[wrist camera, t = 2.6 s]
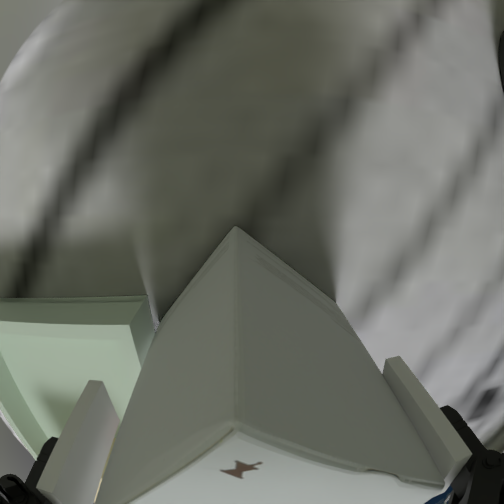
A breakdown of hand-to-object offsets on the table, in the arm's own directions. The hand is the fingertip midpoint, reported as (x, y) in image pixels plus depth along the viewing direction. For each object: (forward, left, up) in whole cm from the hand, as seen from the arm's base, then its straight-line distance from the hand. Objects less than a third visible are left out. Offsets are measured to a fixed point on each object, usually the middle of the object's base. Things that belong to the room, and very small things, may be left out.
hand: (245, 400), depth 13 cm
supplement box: (0, 0, -8) cm, 8 cm away
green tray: (+15, +9, -8) cm, 19 cm away
